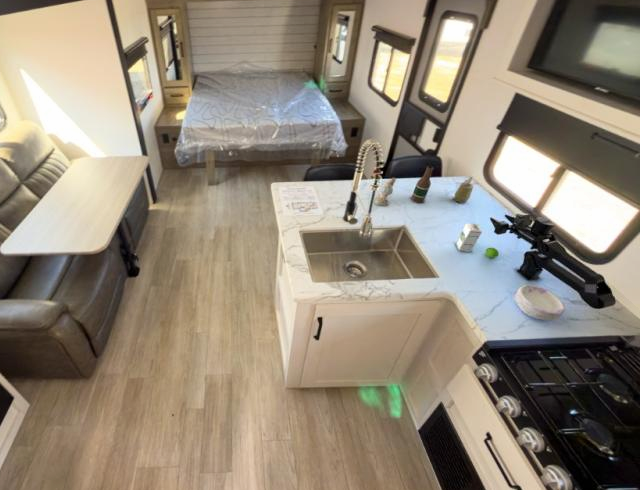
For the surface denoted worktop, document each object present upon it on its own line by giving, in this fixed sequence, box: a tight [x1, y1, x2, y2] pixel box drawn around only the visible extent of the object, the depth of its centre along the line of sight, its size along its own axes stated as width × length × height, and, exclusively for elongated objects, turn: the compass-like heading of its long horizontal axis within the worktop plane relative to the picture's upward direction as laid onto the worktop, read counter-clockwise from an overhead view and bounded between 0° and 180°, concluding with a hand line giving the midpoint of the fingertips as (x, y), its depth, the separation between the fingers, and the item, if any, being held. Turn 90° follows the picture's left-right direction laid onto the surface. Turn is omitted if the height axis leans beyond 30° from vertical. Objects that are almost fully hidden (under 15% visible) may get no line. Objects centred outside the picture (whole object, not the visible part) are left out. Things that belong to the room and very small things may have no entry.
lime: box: [485, 247, 500, 259], centre depth 161 cm, size 5×5×5 cm
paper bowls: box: [513, 284, 566, 322], centre depth 135 cm, size 15×15×8 cm
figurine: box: [374, 177, 397, 206], centre depth 196 cm, size 9×8×20 cm
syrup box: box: [455, 223, 483, 253], centre depth 164 cm, size 6×6×14 cm
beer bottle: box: [411, 165, 434, 204], centre depth 196 cm, size 8×8×24 cm
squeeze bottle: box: [454, 175, 474, 204], centre depth 197 cm, size 8×8×18 cm
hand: (497, 216), depth 163 cm, fingers open, 9 cm apart
